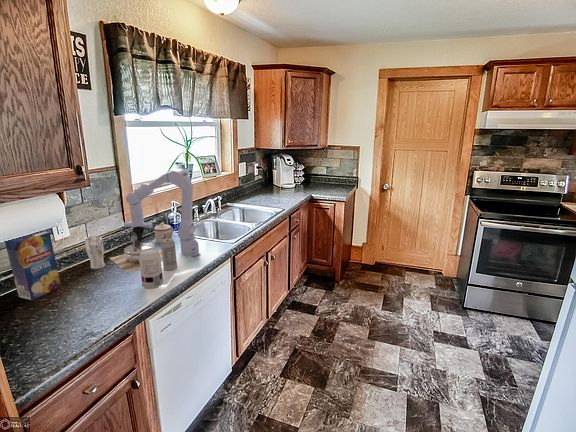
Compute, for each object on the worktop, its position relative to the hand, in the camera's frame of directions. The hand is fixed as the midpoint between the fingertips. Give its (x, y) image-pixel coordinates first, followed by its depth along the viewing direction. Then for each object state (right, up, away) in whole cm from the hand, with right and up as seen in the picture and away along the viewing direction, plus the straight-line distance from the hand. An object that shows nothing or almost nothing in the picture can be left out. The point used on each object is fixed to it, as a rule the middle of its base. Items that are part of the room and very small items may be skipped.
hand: (140, 240), depth 171 cm
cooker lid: (+2, -3, -7) cm, 8 cm away
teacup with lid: (+7, -2, +18) cm, 19 cm away
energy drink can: (+22, -13, -18) cm, 31 cm away
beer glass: (-13, -12, -16) cm, 24 cm away
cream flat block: (+4, -8, -7) cm, 12 cm away
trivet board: (+4, -9, -7) cm, 12 cm away
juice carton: (-24, -18, -37) cm, 48 cm away
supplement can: (+20, -17, -31) cm, 40 cm away
